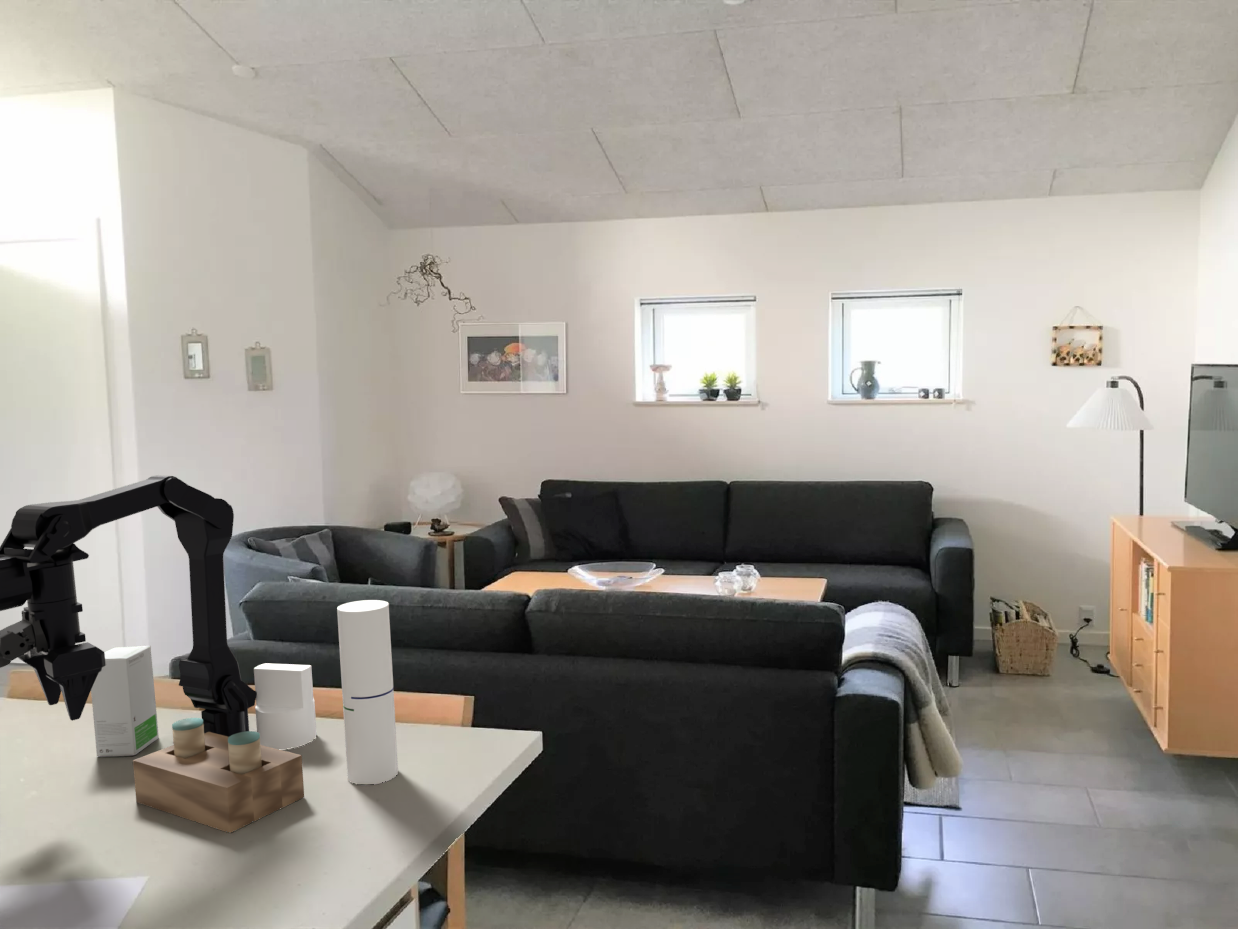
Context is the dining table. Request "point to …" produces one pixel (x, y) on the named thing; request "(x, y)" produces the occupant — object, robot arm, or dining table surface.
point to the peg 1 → (188, 737)
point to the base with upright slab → (284, 705)
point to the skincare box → (125, 702)
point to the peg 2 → (244, 752)
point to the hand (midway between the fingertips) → (63, 711)
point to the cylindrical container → (367, 691)
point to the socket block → (218, 784)
